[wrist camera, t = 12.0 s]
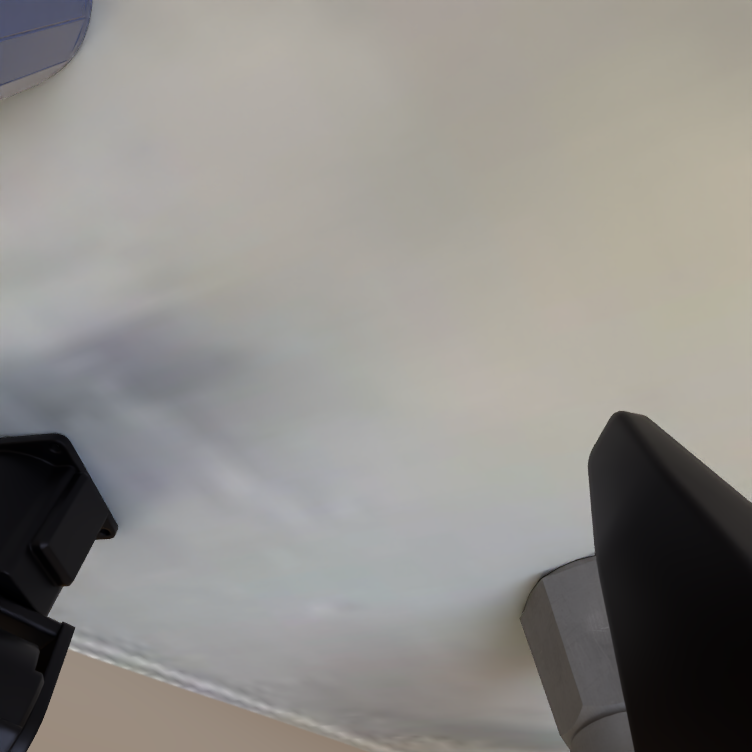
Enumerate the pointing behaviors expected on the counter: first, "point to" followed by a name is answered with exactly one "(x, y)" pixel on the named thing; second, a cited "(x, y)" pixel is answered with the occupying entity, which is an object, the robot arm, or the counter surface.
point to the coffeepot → (577, 658)
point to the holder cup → (38, 40)
